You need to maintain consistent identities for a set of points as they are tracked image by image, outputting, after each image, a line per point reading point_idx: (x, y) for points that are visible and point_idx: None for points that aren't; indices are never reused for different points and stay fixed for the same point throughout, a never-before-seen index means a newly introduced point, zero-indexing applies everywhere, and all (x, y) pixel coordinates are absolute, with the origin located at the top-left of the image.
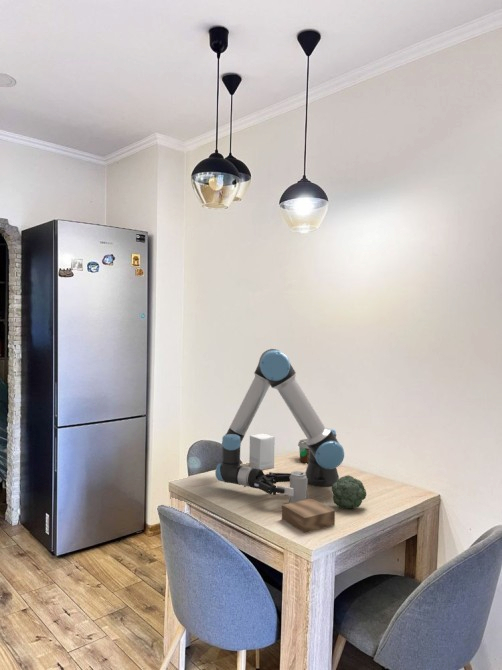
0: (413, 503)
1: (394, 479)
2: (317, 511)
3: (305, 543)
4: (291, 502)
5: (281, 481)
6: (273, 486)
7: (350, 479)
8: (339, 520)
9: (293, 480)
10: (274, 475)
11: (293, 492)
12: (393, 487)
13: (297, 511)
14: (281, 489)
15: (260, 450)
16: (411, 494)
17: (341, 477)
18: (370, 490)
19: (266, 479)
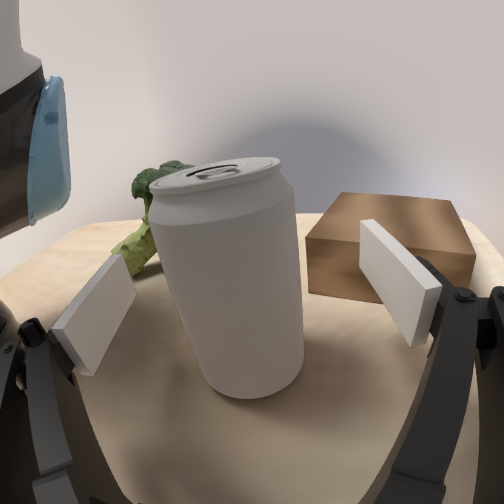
0: (132, 221)
1: (18, 264)
2: (390, 200)
3: (467, 227)
4: (301, 362)
5: (96, 447)
6: (475, 299)
7: (179, 163)
8: (305, 236)
9: (294, 206)
10: (76, 492)
11: (362, 246)
12: (53, 253)
13: (448, 216)
14: (429, 263)
15: None
16: (89, 233)
17: (161, 172)
18: (63, 267)
19: (435, 501)
